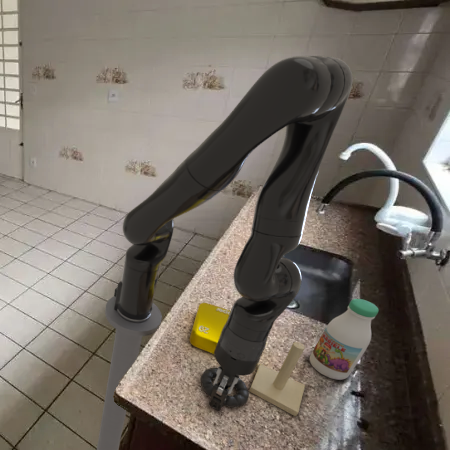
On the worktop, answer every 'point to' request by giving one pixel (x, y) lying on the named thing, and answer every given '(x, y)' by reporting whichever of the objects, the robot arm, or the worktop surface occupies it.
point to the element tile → (208, 326)
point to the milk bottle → (344, 340)
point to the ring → (230, 400)
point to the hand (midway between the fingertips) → (218, 399)
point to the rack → (280, 383)
